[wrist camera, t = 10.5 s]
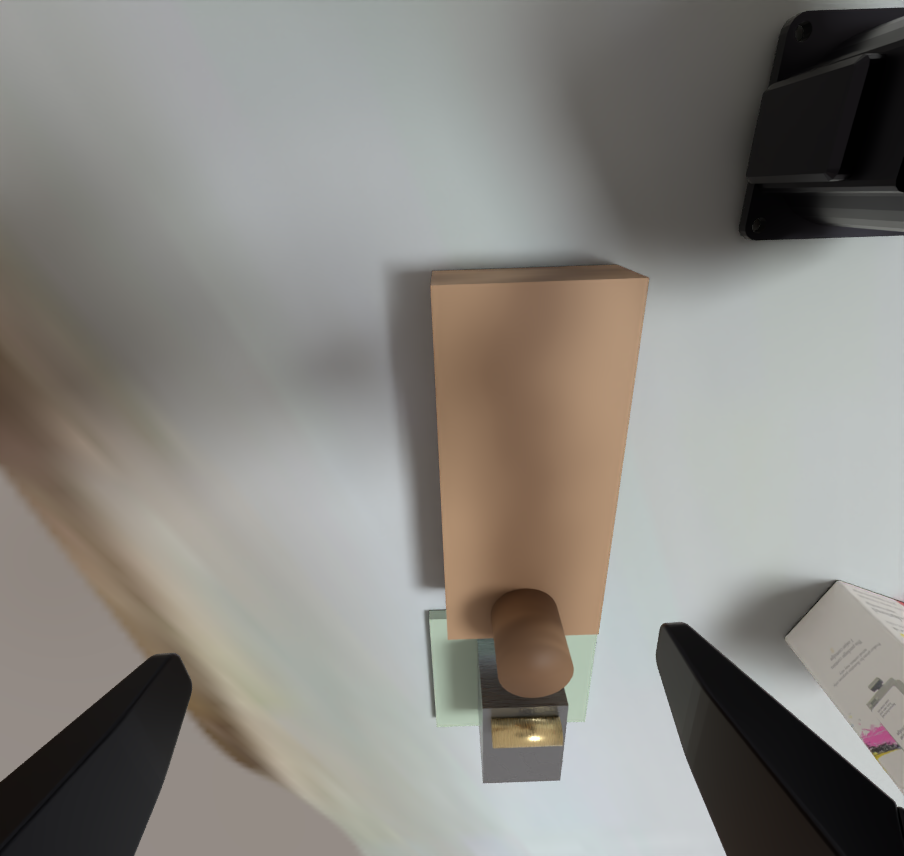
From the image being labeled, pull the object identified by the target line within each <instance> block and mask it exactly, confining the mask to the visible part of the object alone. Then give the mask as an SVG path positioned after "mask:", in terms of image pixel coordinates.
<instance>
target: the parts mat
mask: <svg viewBox="0 0 904 856" xmlns="http://www.w3.org/2000/svg"><path fill="white" fill-rule="evenodd" d="M429 624H430V638H431V652H432V666H433V680H434V694H435V708H436V722H437V727H453V726H479V717H478V669H477V639H458V640H448V635H447V615H446V610H436V611H429ZM565 637H566V641H567V644H568V648H569V652H570V655H571V659H572V662H573V667H574V673H573V676H572V678H571V680H570V682H569V683H568V684H567V685H566V686H565V687H564V689H565V693H566V697H567V701H568V705H569V707H568V716H567V722H585V717H586V710H587V703H588V696H589V689H590V681H591V674H592V667H593V660H594V653H595V646H596V639H597V634H594V635H567V636H565Z"/></svg>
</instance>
